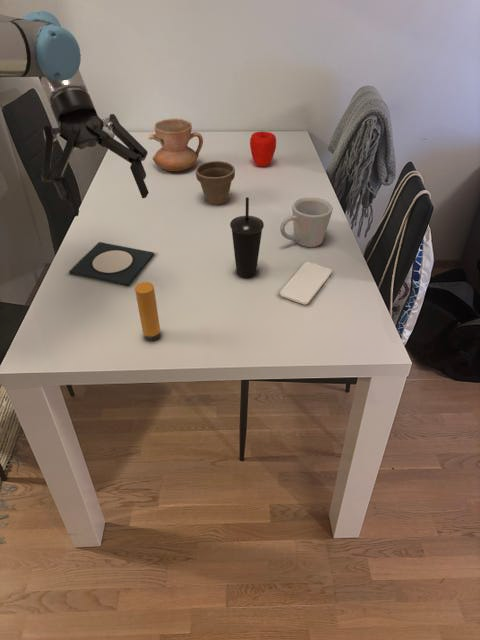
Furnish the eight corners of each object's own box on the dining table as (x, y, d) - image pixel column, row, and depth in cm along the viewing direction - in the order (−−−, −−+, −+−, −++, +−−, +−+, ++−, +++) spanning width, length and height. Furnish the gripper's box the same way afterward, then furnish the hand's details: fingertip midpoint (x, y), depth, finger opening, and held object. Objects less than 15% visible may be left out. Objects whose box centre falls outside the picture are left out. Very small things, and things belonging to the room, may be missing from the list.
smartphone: (278, 293, 110) (306, 261, 119) (278, 295, 110) (305, 263, 120) (307, 303, 107) (333, 269, 117) (306, 306, 107) (332, 272, 117)
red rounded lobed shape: (272, 158, 169) (274, 127, 162) (277, 168, 163) (279, 137, 155) (247, 159, 168) (248, 128, 161) (251, 170, 162) (252, 138, 154)
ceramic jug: (151, 177, 157) (146, 133, 148) (151, 159, 168) (146, 118, 159) (206, 174, 159) (204, 131, 150) (202, 156, 170) (200, 115, 161)
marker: (140, 340, 99) (131, 290, 91) (148, 329, 102) (140, 280, 93) (156, 343, 98) (148, 294, 90) (163, 332, 101) (156, 283, 92)
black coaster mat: (69, 273, 117) (69, 270, 116) (99, 244, 127) (98, 241, 126) (128, 286, 113) (127, 283, 112) (154, 254, 123) (153, 251, 122)
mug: (336, 243, 127) (341, 209, 121) (290, 259, 122) (293, 225, 115) (312, 226, 134) (316, 193, 127) (268, 240, 128) (269, 207, 122)
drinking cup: (238, 285, 113) (238, 209, 100) (226, 268, 119) (224, 193, 105) (267, 277, 116) (270, 202, 102) (253, 260, 121) (255, 187, 108)
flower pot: (209, 213, 139) (207, 180, 133) (190, 197, 147) (188, 166, 140) (242, 203, 144) (242, 171, 137) (222, 188, 151) (222, 157, 145)
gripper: (128, 99, 98) (167, 195, 98) (1, 121, 88) (45, 228, 88) (135, 77, 91) (176, 181, 91) (-2, 98, 81) (45, 214, 81)
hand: (112, 204), depth 90 cm, fingers open, 13 cm apart
